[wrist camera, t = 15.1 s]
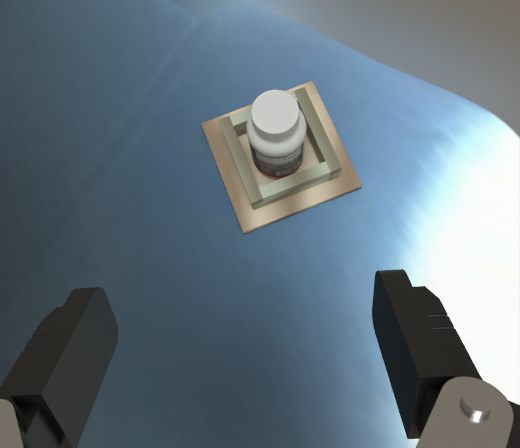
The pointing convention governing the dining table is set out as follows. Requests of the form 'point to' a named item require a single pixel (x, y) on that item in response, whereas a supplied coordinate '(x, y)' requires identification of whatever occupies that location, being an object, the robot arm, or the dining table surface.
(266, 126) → the pill bottle
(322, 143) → the holder
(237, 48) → the dining table surface
